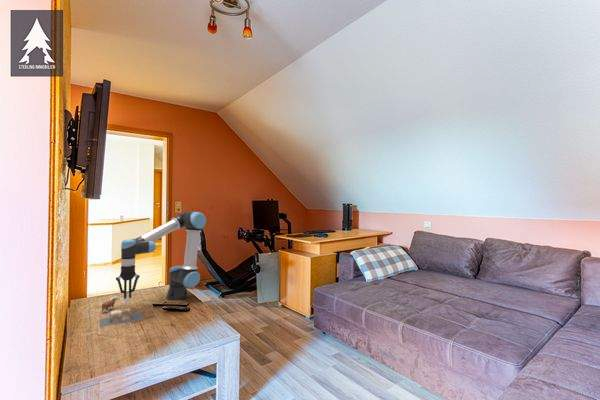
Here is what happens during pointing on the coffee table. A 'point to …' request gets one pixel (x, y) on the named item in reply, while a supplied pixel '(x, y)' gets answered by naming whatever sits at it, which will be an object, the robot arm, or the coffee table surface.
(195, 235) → the robot arm
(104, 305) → the bull figurine
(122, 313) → the beech block
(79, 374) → the coffee table surface
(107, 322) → the felt mat
